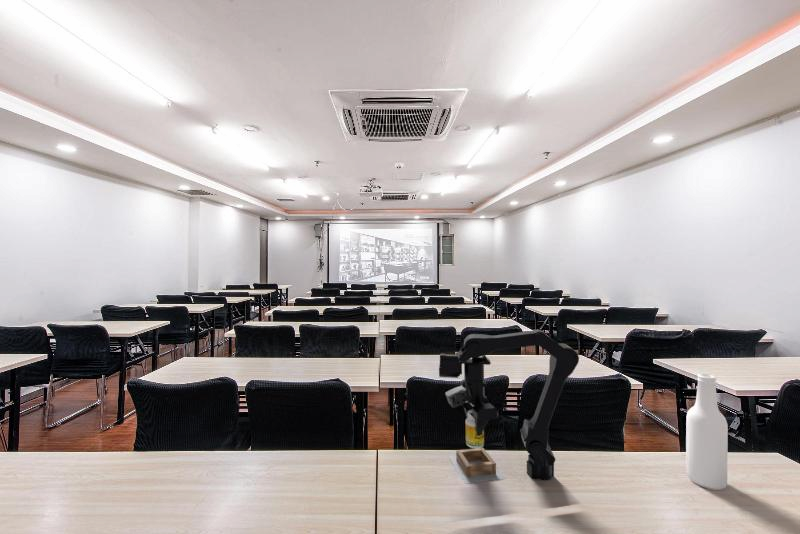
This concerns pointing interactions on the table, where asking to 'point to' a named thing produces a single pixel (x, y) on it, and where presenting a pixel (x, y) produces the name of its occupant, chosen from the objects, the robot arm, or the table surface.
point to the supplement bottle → (473, 433)
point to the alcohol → (706, 438)
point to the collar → (476, 468)
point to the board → (475, 478)
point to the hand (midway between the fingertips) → (474, 430)
